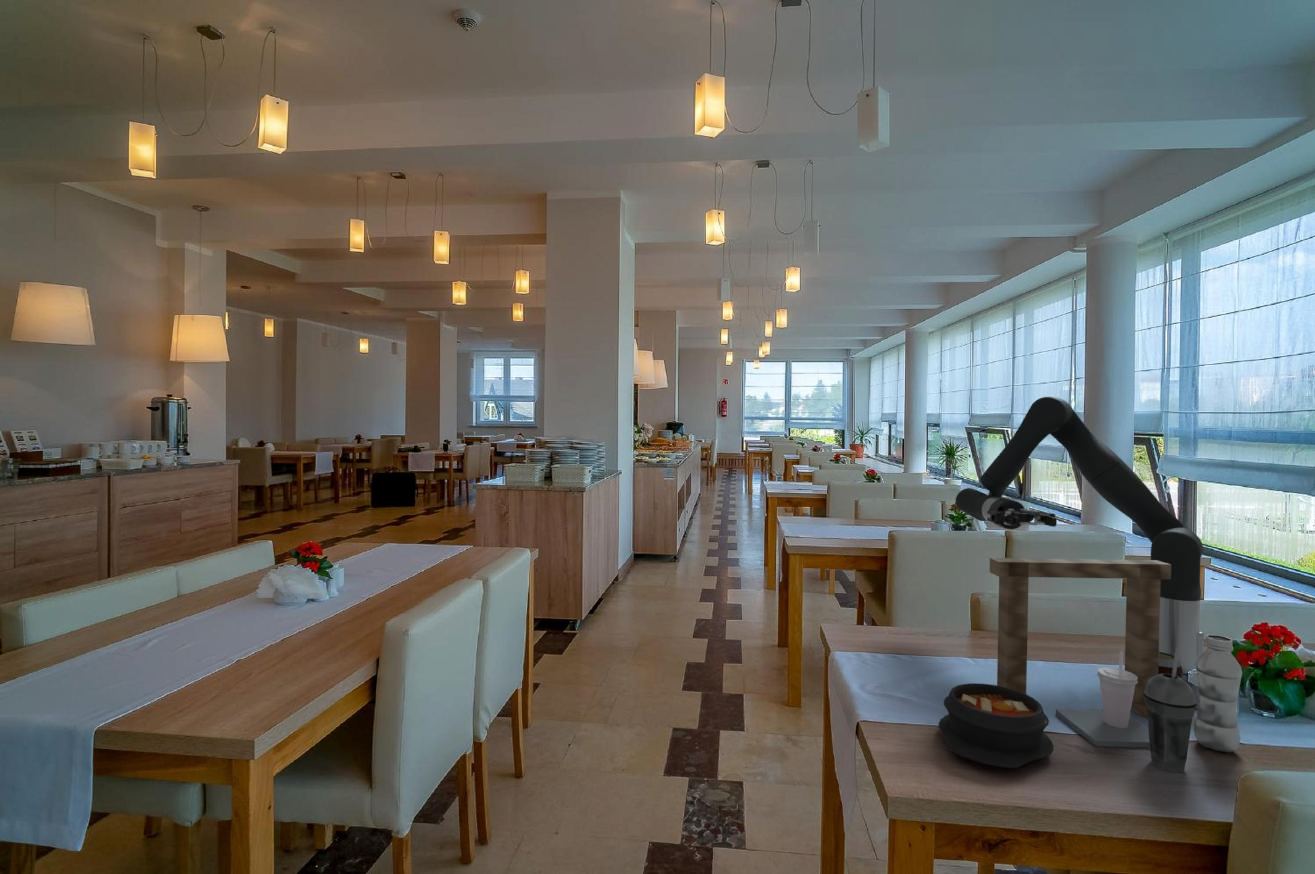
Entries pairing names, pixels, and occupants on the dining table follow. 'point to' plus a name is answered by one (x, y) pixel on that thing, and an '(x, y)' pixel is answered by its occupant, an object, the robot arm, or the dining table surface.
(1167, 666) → the mate gourd
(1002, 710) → the casserole
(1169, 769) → the beverage cup
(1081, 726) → the mat
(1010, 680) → the archway
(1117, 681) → the smoothie
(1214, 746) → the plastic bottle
